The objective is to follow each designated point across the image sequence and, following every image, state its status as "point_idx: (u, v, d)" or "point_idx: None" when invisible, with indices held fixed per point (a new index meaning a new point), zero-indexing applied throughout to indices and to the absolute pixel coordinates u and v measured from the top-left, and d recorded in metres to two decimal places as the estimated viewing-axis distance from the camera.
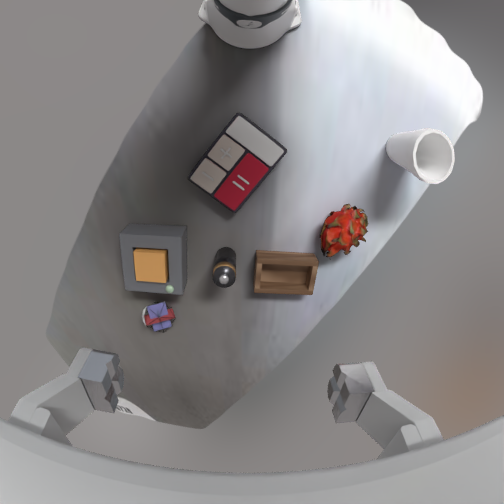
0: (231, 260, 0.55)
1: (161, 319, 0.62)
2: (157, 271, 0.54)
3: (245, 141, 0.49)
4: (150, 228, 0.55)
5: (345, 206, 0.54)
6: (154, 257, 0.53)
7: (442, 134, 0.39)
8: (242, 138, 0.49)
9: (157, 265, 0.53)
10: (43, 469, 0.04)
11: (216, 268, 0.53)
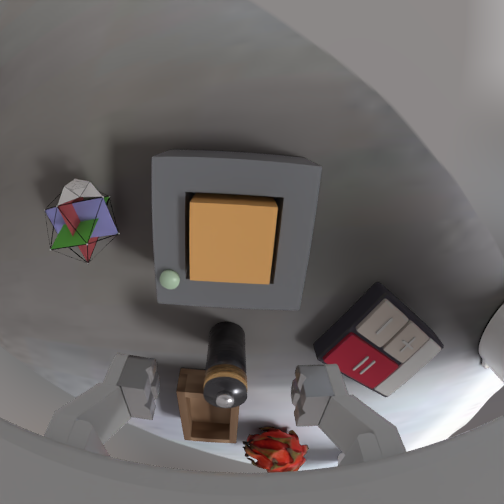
0: None
1: (77, 232, 0.23)
2: (220, 262, 0.22)
3: (412, 361, 0.33)
4: None
5: (306, 448, 0.40)
6: (260, 260, 0.22)
7: None
8: (416, 357, 0.32)
9: (237, 264, 0.22)
10: (43, 469, 0.04)
11: (241, 382, 0.25)
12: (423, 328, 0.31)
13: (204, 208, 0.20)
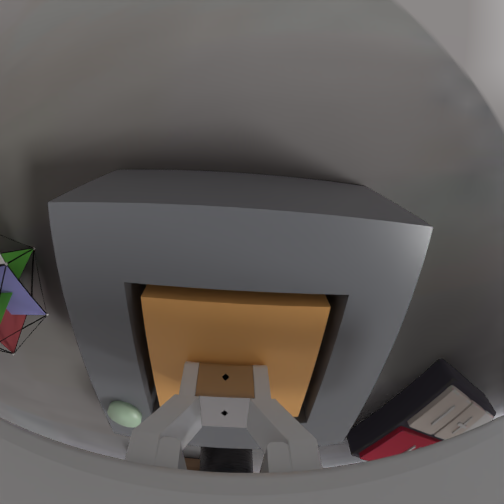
0: None
1: None
2: None
3: None
4: None
5: None
6: (286, 390, 0.11)
7: None
8: (466, 431, 0.20)
9: None
10: (43, 469, 0.04)
11: None
12: (482, 404, 0.19)
13: (172, 309, 0.09)
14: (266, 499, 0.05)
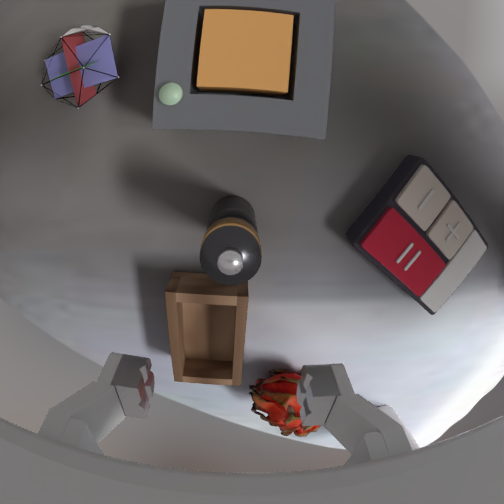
0: None
1: (74, 73, 0.18)
2: (233, 65, 0.17)
3: (459, 259, 0.27)
4: None
5: None
6: (277, 64, 0.17)
7: None
8: (462, 254, 0.27)
9: (251, 67, 0.17)
10: (43, 469, 0.04)
11: (253, 235, 0.20)
12: (466, 214, 0.25)
13: (219, 13, 0.15)
14: (266, 499, 0.05)
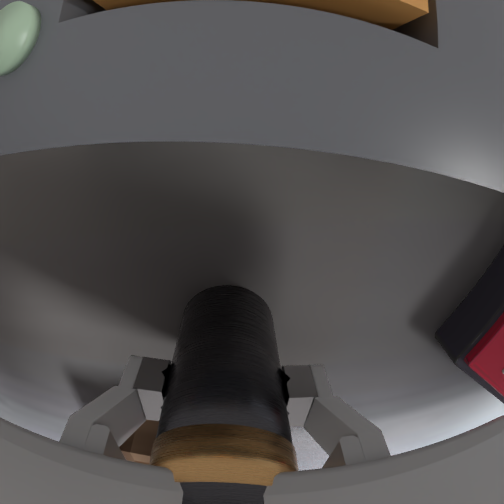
0: None
1: None
2: None
3: None
4: None
5: None
6: None
7: None
8: None
9: None
10: (43, 469, 0.04)
11: None
12: None
13: None
14: (266, 499, 0.05)
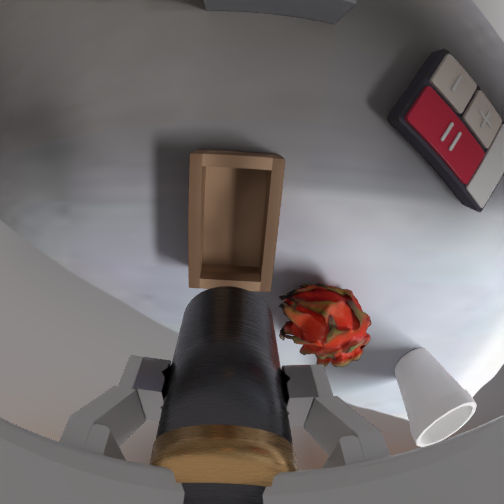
0: None
1: None
2: None
3: (495, 150, 0.23)
4: None
5: None
6: None
7: (464, 423, 0.28)
8: (497, 146, 0.23)
9: None
10: (43, 469, 0.04)
11: None
12: None
13: None
14: (266, 499, 0.05)
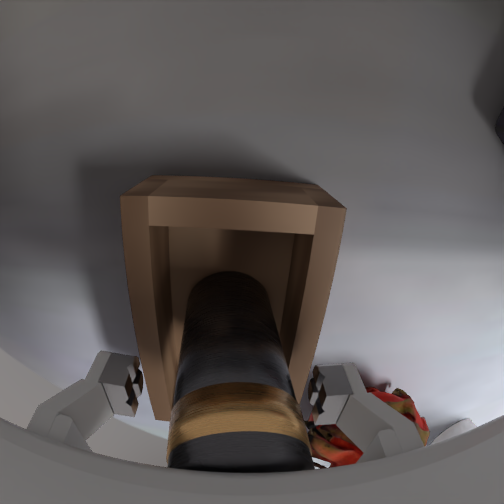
0: None
1: None
2: None
3: None
4: None
5: None
6: None
7: None
8: None
9: None
10: (43, 469, 0.04)
11: (299, 442, 0.06)
12: None
13: None
14: (266, 499, 0.05)
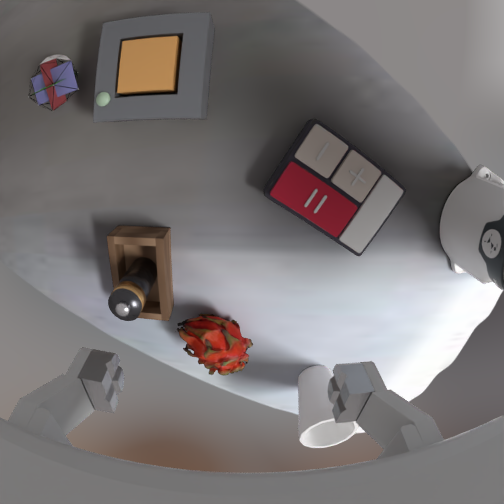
0: None
1: (49, 88, 0.26)
2: (138, 76, 0.25)
3: (372, 202, 0.34)
4: (209, 62, 0.28)
5: (249, 342, 0.42)
6: (165, 72, 0.25)
7: (352, 434, 0.40)
8: (375, 197, 0.34)
9: (149, 76, 0.25)
10: (43, 469, 0.04)
11: (135, 294, 0.31)
12: (371, 161, 0.33)
13: (131, 43, 0.23)
14: (266, 499, 0.05)
